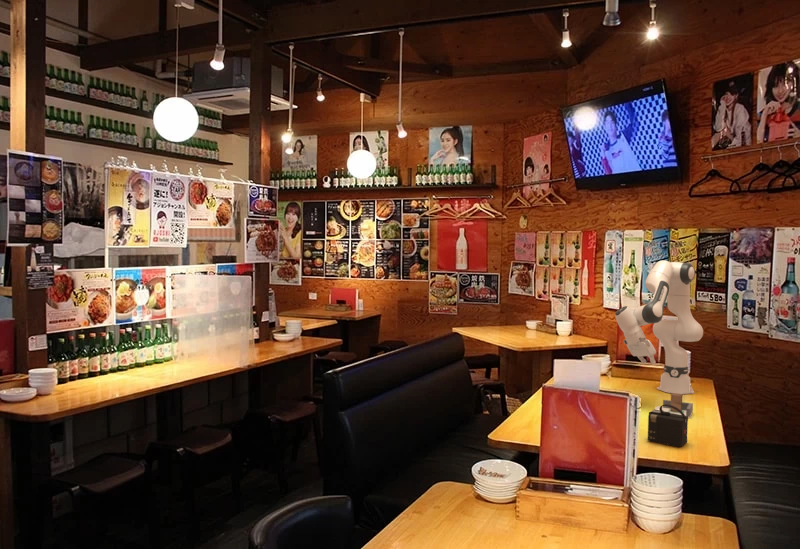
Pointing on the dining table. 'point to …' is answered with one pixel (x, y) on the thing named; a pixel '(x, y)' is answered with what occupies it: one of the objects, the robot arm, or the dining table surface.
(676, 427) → the black portable radio
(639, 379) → the dining table surface
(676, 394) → the walnut block
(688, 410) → the corner arena
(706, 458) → the dining table surface
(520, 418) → the dining table surface
